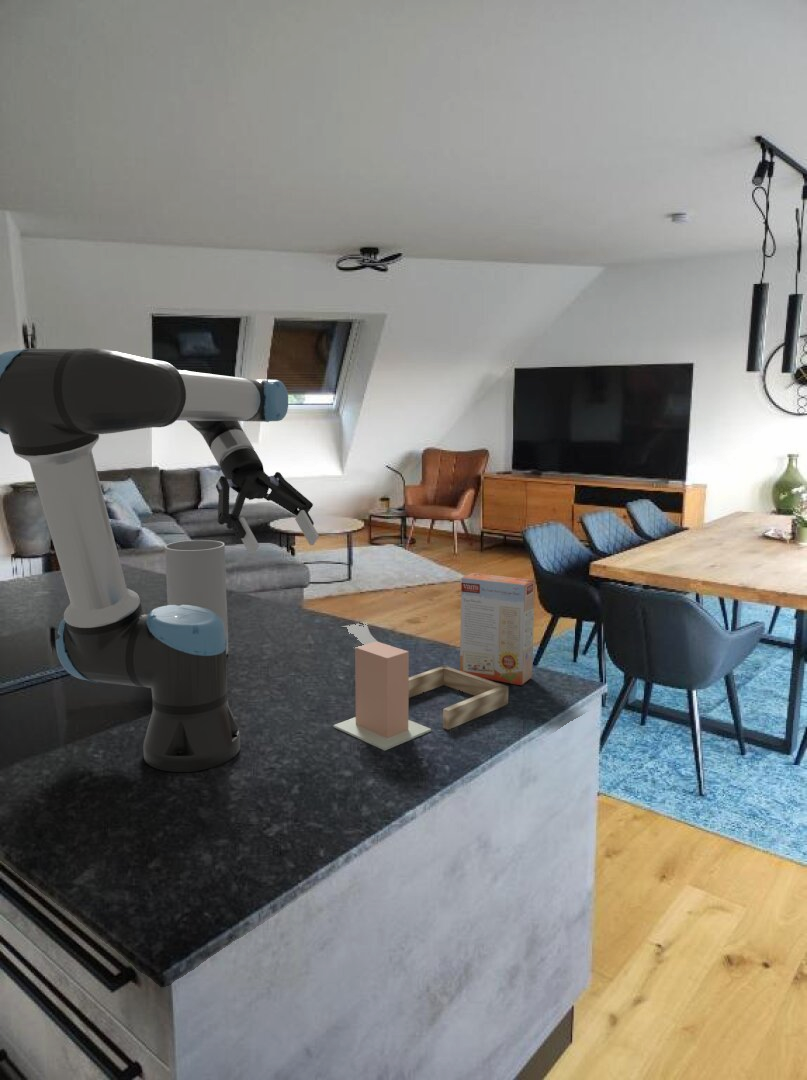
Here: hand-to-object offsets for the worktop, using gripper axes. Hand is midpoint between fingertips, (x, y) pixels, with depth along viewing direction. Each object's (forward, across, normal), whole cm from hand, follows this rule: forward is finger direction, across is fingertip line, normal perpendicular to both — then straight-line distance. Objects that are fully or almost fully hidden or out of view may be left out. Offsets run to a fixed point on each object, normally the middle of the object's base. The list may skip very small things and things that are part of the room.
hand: (285, 545), depth 146 cm
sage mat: (+37, -3, -5) cm, 37 cm away
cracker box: (+35, -38, -7) cm, 52 cm away
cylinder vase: (-3, -1, -45) cm, 46 cm away
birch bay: (+37, -19, -5) cm, 42 cm away
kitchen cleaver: (+11, -32, -32) cm, 47 cm away
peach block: (+37, -3, -5) cm, 37 cm away
